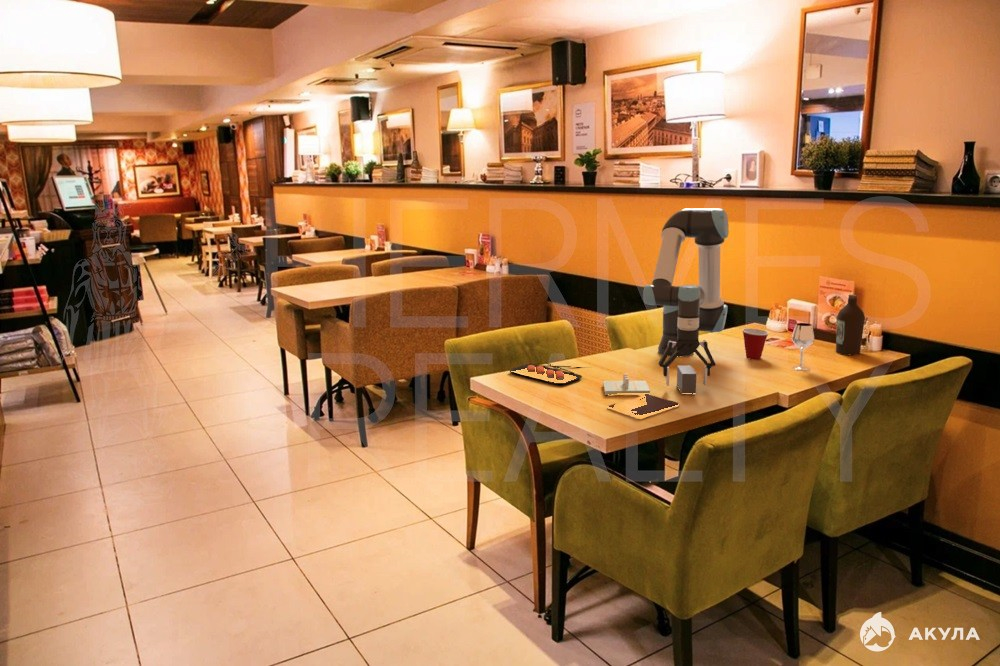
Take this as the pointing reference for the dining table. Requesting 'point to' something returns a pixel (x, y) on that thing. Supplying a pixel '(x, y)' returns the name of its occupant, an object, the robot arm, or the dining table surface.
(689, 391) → the block
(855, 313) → the olive oil
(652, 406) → the notebook
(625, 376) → the board
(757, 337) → the plastic cup
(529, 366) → the sushi plate
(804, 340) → the wineglass
